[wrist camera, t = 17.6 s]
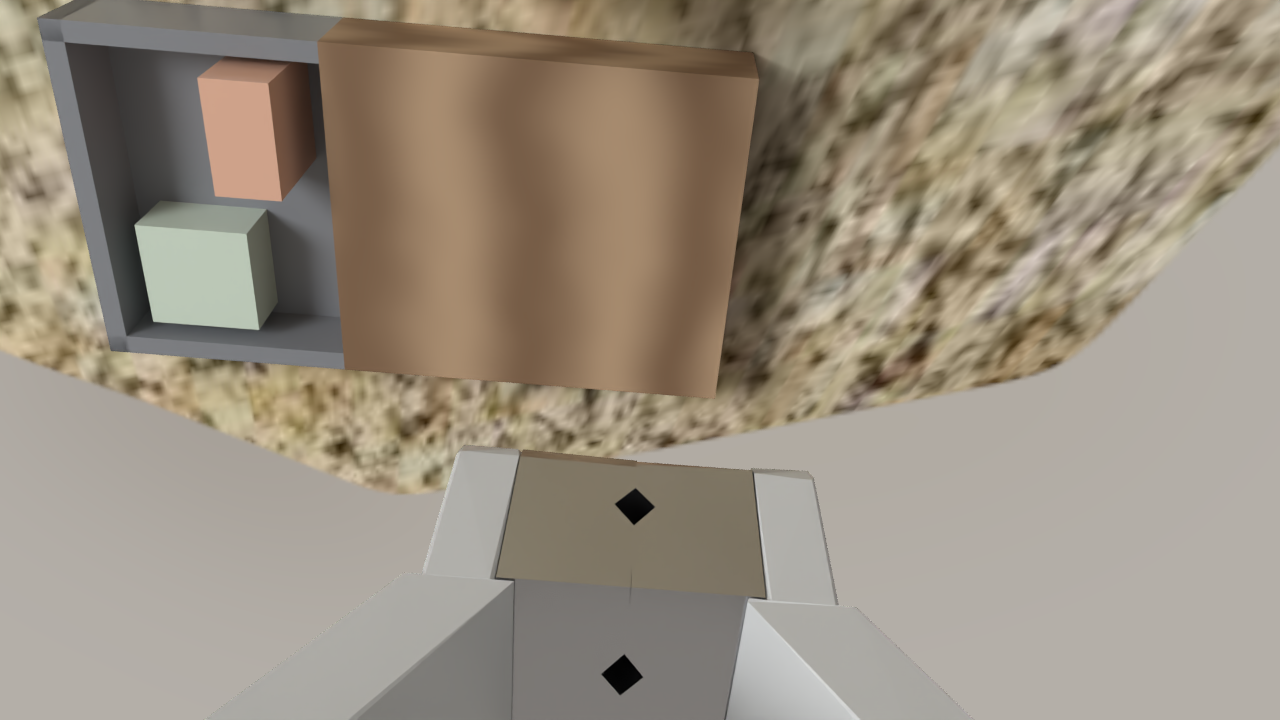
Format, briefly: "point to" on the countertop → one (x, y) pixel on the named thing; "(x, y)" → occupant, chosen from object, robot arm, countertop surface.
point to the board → (534, 204)
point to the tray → (186, 166)
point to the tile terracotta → (257, 126)
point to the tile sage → (207, 264)
